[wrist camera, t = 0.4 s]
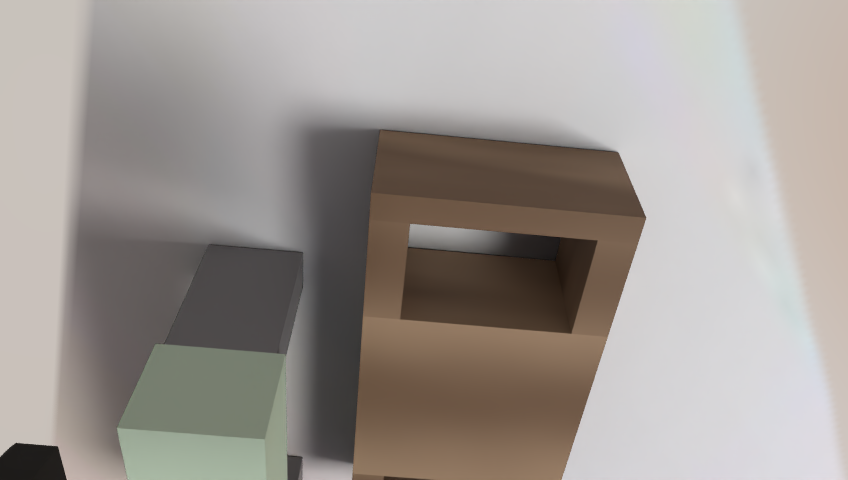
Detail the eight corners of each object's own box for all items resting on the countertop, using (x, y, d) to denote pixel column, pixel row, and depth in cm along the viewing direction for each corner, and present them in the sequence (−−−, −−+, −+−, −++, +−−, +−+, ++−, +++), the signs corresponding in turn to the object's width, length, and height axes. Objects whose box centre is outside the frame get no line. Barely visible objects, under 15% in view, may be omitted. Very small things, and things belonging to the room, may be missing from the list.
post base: (526, 478, 26) (535, 557, 23) (356, 465, 26) (348, 543, 23) (618, 152, 18) (646, 217, 16) (380, 130, 18) (370, 192, 16)
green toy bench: (307, 479, 26) (274, 672, 21) (223, 473, 26) (167, 665, 21) (310, 253, 20) (264, 439, 15) (201, 243, 20) (116, 428, 15)
